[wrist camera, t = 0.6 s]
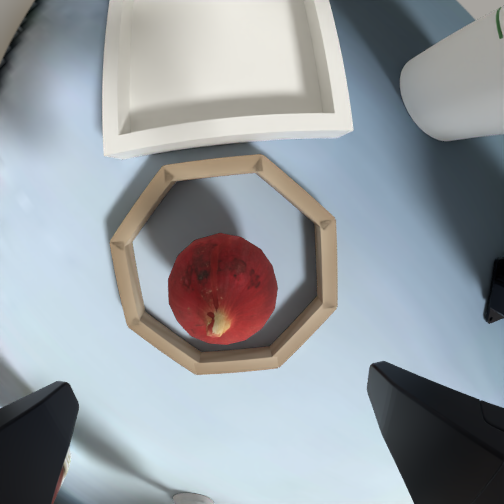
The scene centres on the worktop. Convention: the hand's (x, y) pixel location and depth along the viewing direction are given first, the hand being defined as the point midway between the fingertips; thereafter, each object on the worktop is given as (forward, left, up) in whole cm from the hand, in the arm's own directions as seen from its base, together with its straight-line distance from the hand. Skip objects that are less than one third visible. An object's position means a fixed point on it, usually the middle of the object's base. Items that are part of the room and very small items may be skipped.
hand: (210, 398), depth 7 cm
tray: (-1, -15, -12) cm, 20 cm away
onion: (0, 0, -13) cm, 13 cm away
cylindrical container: (-17, -12, -13) cm, 24 cm away
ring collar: (0, 0, -12) cm, 12 cm away
